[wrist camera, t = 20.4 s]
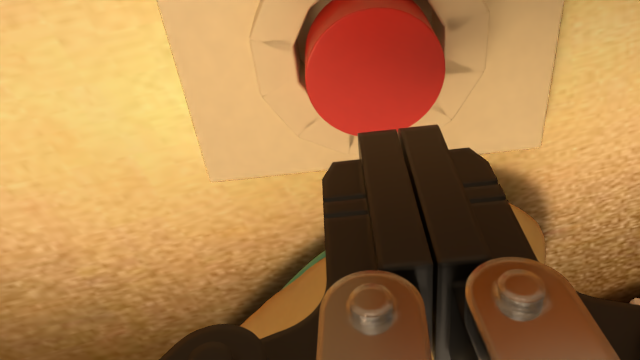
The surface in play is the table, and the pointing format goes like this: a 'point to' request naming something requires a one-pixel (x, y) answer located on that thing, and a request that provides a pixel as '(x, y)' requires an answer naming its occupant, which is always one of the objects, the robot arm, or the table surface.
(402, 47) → the button
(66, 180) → the table surface
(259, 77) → the box
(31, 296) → the table surface
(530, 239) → the ballet flat
